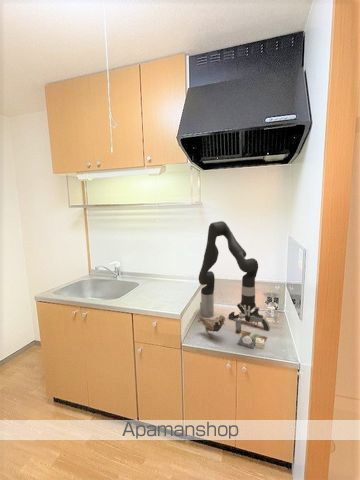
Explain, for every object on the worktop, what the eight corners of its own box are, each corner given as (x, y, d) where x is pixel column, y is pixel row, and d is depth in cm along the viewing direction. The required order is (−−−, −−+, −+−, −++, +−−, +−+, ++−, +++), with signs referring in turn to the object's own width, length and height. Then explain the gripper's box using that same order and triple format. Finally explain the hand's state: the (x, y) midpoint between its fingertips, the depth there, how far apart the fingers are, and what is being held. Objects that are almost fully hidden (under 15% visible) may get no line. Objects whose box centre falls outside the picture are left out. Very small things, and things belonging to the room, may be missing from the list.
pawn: (234, 332, 155) (234, 319, 153) (236, 329, 158) (236, 316, 156) (240, 333, 153) (240, 320, 151) (242, 331, 156) (242, 318, 154)
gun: (269, 332, 153) (261, 310, 155) (233, 335, 170) (226, 314, 171) (272, 329, 158) (263, 307, 159) (236, 331, 174) (229, 311, 175)
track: (233, 334, 154) (233, 332, 154) (236, 329, 159) (236, 328, 159) (265, 343, 144) (265, 342, 143) (267, 338, 148) (267, 337, 148)
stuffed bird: (225, 346, 142) (225, 319, 139) (193, 338, 150) (193, 313, 147) (229, 337, 151) (229, 312, 148) (199, 330, 159) (199, 306, 156)
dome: (241, 344, 143) (241, 337, 142) (244, 340, 147) (244, 332, 146) (250, 347, 140) (250, 339, 139) (253, 343, 144) (253, 335, 143)
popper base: (237, 346, 142) (237, 342, 142) (242, 338, 149) (242, 335, 149) (252, 350, 137) (252, 347, 137) (256, 342, 145) (256, 339, 144)
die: (255, 348, 139) (255, 341, 138) (256, 344, 143) (256, 337, 142) (263, 350, 137) (263, 343, 137) (264, 346, 142) (264, 338, 141)
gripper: (234, 293, 138) (234, 321, 141) (258, 297, 131) (257, 326, 134) (239, 288, 145) (238, 315, 147) (261, 292, 137) (260, 321, 140)
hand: (247, 321), depth 141 cm, fingers closed
